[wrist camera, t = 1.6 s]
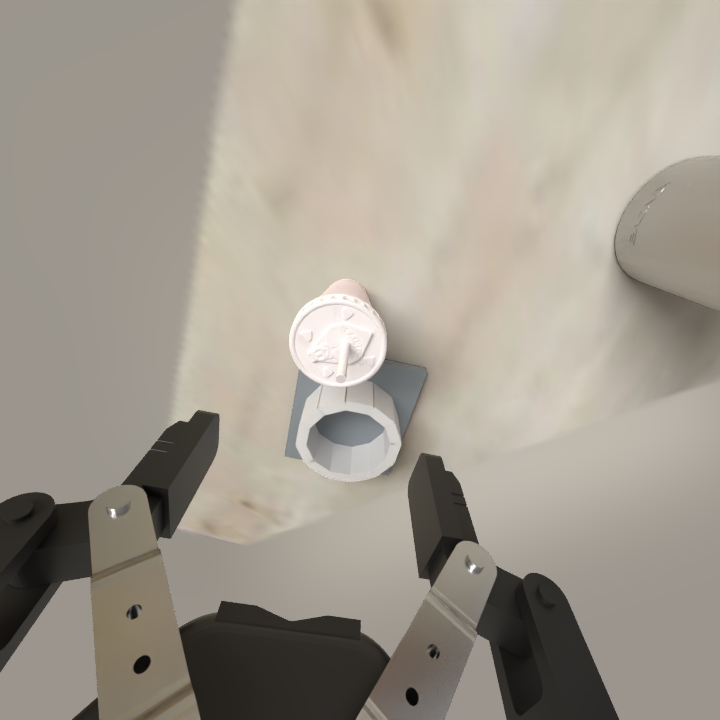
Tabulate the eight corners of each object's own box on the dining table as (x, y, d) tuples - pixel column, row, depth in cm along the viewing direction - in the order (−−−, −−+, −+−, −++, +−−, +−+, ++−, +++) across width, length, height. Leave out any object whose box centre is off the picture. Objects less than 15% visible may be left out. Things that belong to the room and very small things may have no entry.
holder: (425, 368, 33) (434, 397, 29) (387, 468, 40) (390, 505, 35) (304, 341, 32) (294, 367, 28) (286, 449, 39) (275, 484, 34)
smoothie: (393, 317, 31) (409, 409, 18) (330, 342, 32) (306, 444, 20) (365, 250, 28) (362, 305, 16) (297, 280, 29) (246, 354, 17)
